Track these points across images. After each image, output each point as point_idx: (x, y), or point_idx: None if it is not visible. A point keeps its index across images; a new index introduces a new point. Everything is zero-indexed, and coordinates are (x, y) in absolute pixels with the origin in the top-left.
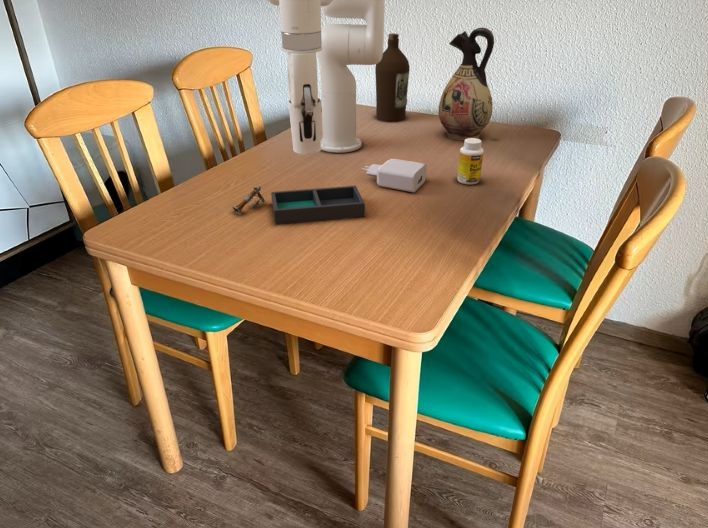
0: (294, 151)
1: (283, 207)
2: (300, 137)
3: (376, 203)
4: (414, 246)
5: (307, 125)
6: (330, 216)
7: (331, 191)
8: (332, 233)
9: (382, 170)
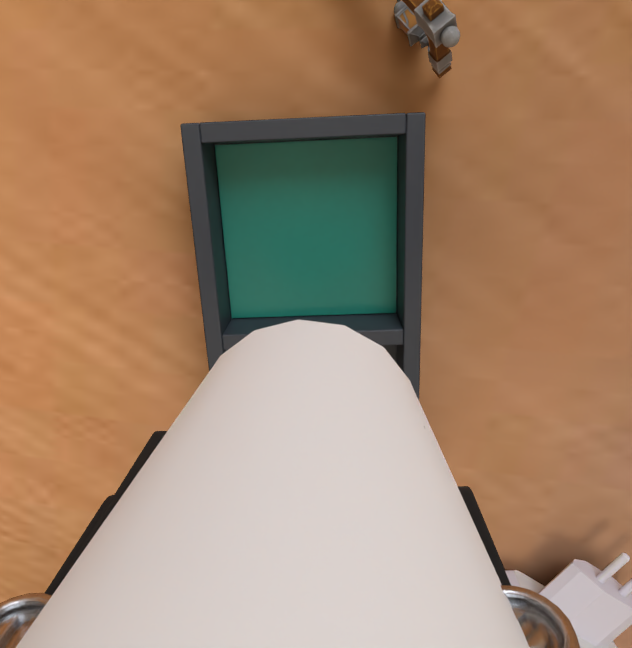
0: (270, 327)
1: (338, 172)
2: (143, 452)
3: None
4: (14, 576)
5: None
6: None
7: None
8: (106, 353)
9: None
